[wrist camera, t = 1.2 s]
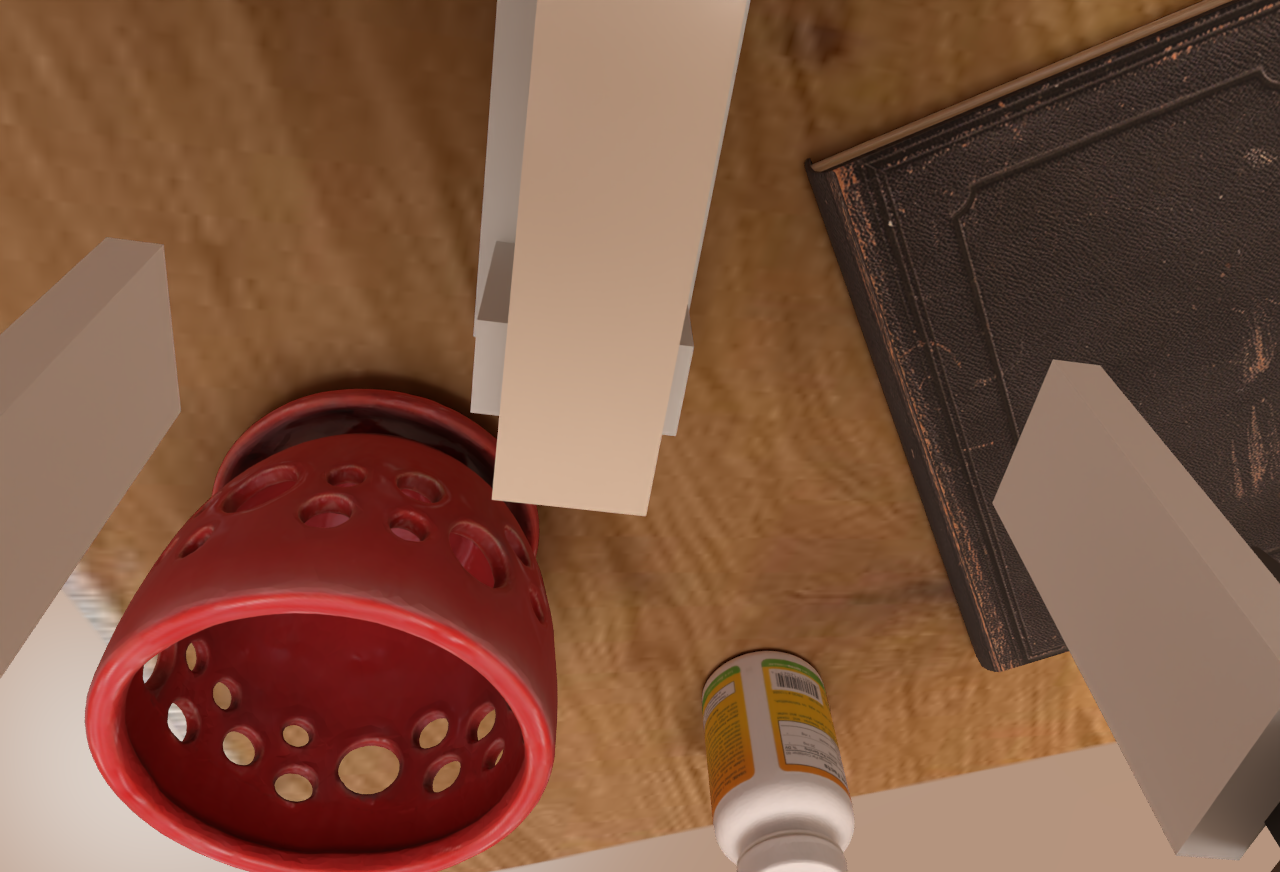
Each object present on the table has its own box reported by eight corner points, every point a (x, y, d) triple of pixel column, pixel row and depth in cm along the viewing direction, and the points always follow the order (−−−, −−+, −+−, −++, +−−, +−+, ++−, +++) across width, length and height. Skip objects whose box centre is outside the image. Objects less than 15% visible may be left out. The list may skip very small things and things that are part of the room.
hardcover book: (1333, -70, 29) (1384, -58, 27) (1361, 515, 41) (1399, 552, 39) (798, 155, 32) (810, 180, 30) (968, 637, 44) (985, 677, 42)
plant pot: (186, 577, 40) (47, 845, 30) (262, 300, 34) (116, 525, 24) (499, 668, 44) (466, 938, 34) (622, 430, 37) (627, 677, 27)
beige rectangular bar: (573, -300, 20) (565, -312, 17) (769, -263, 21) (799, -269, 17) (505, 416, 30) (491, 500, 26) (642, 432, 30) (645, 515, 27)
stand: (521, -323, 25) (499, -346, 20) (800, -271, 26) (847, -280, 21) (475, 329, 35) (451, 424, 30) (678, 354, 35) (689, 451, 30)
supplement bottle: (716, 743, 47) (738, 950, 38) (686, 662, 44) (704, 867, 36) (833, 718, 46) (881, 924, 38) (811, 635, 43) (858, 838, 35)
